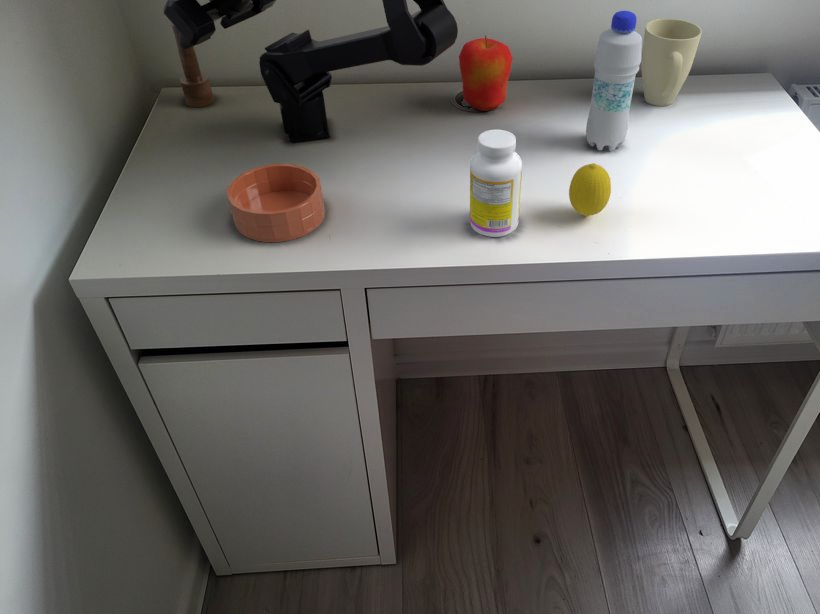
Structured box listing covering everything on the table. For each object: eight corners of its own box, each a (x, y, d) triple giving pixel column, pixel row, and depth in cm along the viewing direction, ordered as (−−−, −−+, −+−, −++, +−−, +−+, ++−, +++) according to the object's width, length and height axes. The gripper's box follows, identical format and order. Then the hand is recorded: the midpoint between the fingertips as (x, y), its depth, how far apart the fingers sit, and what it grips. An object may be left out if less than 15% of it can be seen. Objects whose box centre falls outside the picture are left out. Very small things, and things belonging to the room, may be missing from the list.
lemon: (562, 205, 100) (569, 154, 94) (601, 203, 100) (610, 152, 94) (570, 228, 96) (577, 176, 90) (610, 226, 96) (619, 174, 91)
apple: (454, 114, 119) (453, 42, 110) (465, 92, 125) (465, 22, 116) (504, 120, 117) (507, 48, 109) (513, 97, 123) (517, 27, 115)
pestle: (214, 93, 123) (194, 16, 114) (214, 105, 120) (193, 27, 111) (186, 96, 123) (164, 18, 113) (186, 108, 120) (163, 29, 110)
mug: (617, 98, 123) (629, 27, 115) (657, 83, 128) (671, 14, 119) (665, 123, 117) (681, 50, 109) (705, 106, 121) (723, 35, 113)
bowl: (320, 186, 103) (315, 158, 100) (329, 235, 94) (325, 206, 91) (233, 197, 101) (226, 169, 97) (235, 248, 92) (227, 219, 89)
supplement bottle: (490, 205, 100) (493, 119, 91) (528, 222, 97) (535, 136, 88) (459, 226, 96) (459, 139, 87) (498, 245, 93) (502, 157, 84)
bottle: (630, 138, 113) (655, 7, 99) (618, 158, 109) (642, 24, 95) (590, 130, 115) (608, 0, 101) (577, 148, 111) (594, 15, 97)
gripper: (246, -96, 104) (206, -27, 115) (152, -63, 92) (119, 11, 104) (298, -29, 107) (255, 32, 118) (214, 11, 95) (175, 75, 107)
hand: (203, 35), depth 112 cm, fingers open, 9 cm apart
